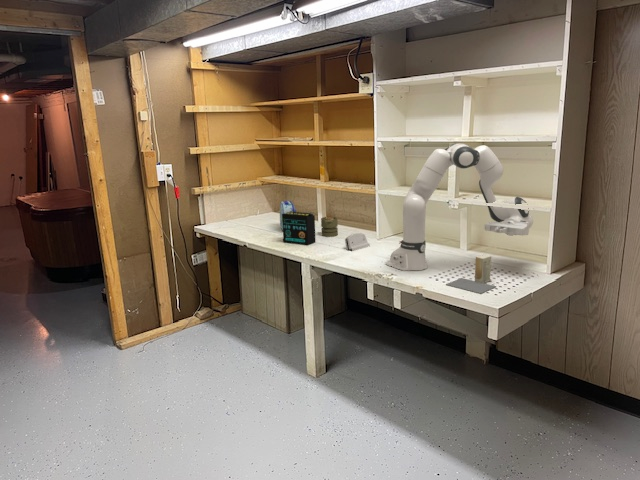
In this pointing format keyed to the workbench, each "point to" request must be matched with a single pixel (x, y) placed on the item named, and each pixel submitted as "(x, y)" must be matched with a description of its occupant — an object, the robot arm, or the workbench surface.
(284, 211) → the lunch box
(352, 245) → the hinge
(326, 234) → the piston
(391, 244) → the workbench surface
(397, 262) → the robot arm
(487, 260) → the skincare box
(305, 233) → the battery
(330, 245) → the workbench surface
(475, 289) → the mat
